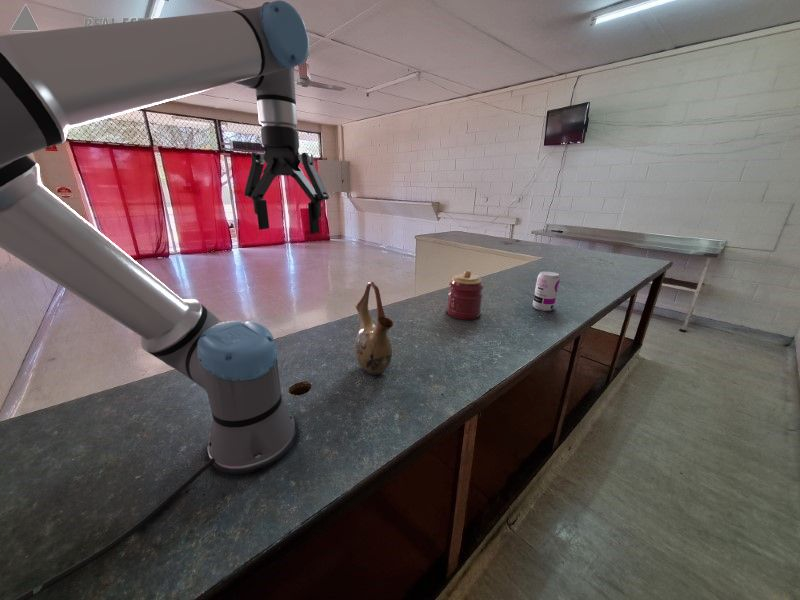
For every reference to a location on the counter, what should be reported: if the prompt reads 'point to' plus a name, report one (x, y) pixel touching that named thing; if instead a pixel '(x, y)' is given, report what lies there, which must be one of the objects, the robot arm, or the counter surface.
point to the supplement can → (546, 290)
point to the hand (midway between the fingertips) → (288, 230)
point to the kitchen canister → (465, 296)
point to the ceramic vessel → (373, 336)
